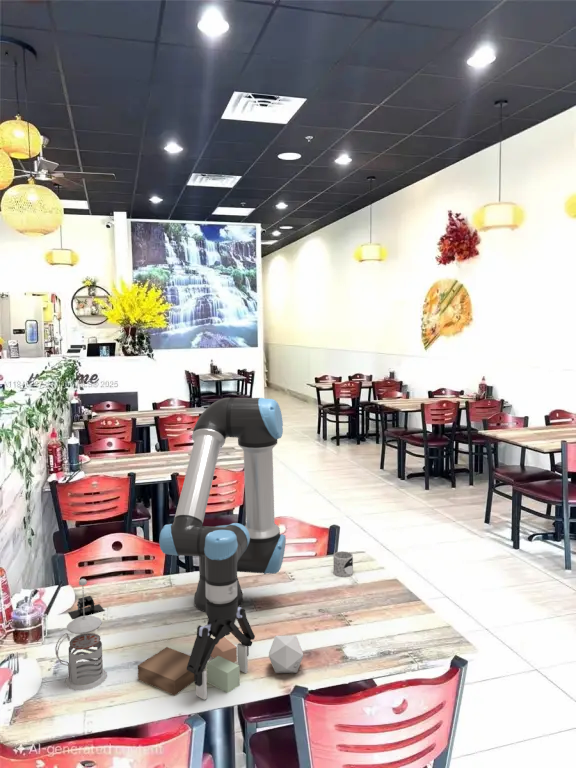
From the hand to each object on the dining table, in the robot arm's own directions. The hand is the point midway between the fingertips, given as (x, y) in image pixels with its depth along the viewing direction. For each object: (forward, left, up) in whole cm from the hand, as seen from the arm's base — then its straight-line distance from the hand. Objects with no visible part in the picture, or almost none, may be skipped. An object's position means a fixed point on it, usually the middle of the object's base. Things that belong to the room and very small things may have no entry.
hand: (222, 683), depth 143 cm
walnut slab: (-12, -6, -1) cm, 13 cm away
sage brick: (0, 0, 0) cm, 0 cm away
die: (+8, +14, 0) cm, 16 cm away
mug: (-14, +74, 0) cm, 76 cm away
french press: (-28, -20, 0) cm, 34 cm away
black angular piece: (-59, +1, -1) cm, 59 cm away
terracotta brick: (-8, +8, 0) cm, 12 cm away
